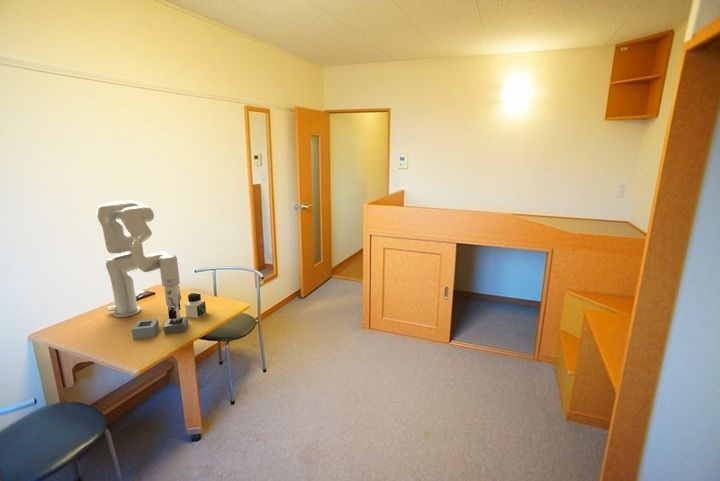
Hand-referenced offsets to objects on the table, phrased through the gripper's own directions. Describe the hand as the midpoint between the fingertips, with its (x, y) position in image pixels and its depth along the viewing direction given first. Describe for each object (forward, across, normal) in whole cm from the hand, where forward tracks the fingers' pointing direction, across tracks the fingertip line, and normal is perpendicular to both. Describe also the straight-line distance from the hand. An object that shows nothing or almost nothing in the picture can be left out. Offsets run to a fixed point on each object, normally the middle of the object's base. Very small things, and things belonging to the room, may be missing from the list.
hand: (175, 314), depth 176 cm
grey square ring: (+8, 0, 0) cm, 8 cm away
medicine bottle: (+8, +14, -7) cm, 18 cm away
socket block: (+8, -1, +13) cm, 15 cm away
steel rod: (+8, 0, 0) cm, 8 cm away
